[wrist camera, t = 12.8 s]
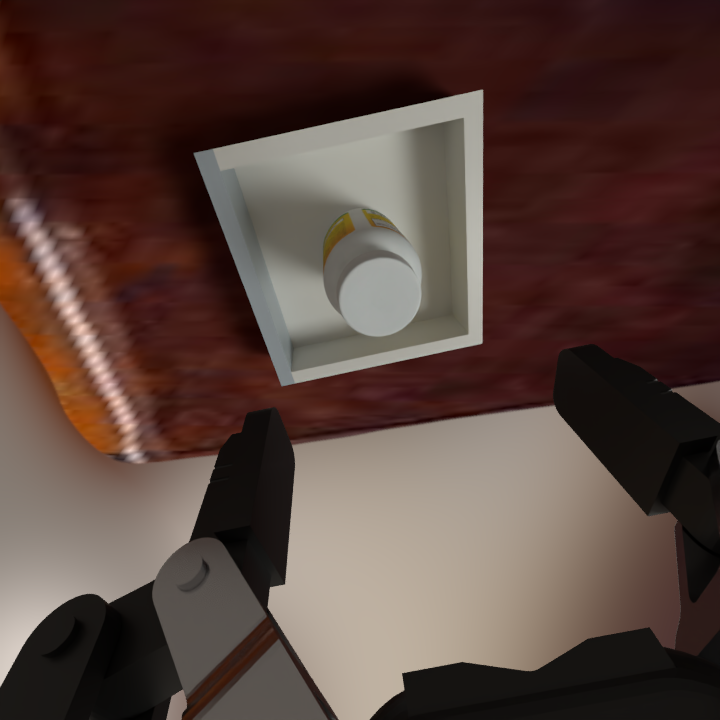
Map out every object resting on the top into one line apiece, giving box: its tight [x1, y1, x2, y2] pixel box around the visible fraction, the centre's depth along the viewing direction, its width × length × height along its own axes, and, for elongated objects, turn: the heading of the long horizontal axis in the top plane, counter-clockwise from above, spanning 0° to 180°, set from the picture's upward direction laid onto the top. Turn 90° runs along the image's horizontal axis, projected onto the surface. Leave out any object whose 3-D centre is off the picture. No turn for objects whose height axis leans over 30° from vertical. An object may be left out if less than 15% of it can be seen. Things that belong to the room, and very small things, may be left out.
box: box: [194, 90, 483, 386], centre depth 24 cm, size 15×15×4 cm
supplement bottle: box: [323, 208, 422, 337], centre depth 21 cm, size 5×5×10 cm
